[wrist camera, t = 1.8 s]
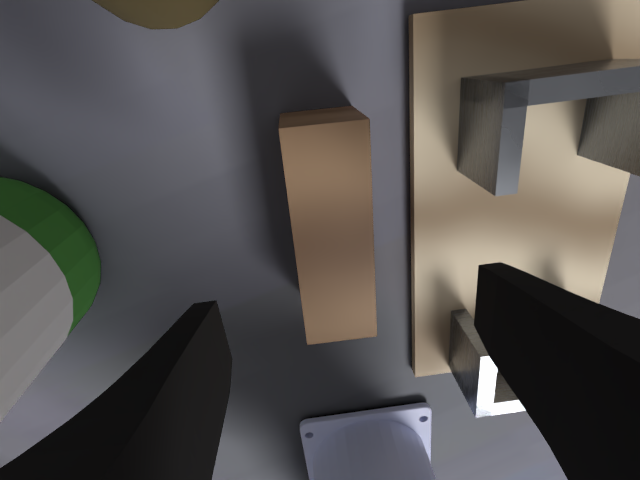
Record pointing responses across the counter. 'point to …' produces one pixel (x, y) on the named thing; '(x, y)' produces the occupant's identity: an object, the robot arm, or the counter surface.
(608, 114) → the bracket
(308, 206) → the slat
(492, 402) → the fixed bracket
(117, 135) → the counter surface
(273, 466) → the counter surface
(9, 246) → the wine bottle
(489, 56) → the board
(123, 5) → the cork
